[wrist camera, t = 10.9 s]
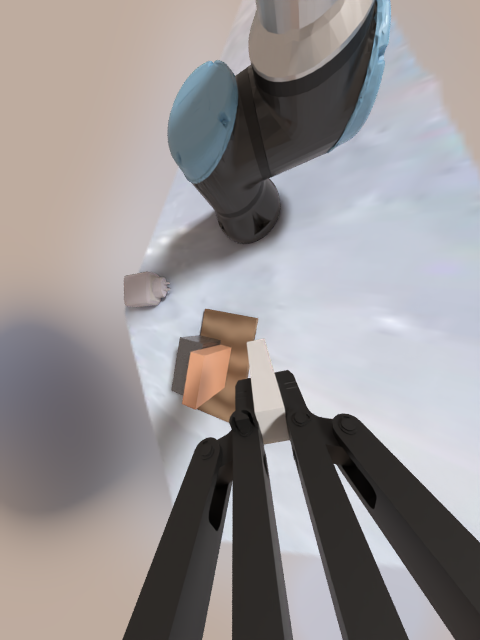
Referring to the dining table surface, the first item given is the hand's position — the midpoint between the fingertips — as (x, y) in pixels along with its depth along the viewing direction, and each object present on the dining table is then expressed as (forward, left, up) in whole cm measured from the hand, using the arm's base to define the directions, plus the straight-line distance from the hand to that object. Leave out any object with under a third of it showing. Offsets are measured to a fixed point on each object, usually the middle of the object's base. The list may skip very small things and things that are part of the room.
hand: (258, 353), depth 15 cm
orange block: (+11, -17, -25) cm, 32 cm away
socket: (+11, -19, -25) cm, 33 cm away
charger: (-5, -41, -27) cm, 50 cm away
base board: (+11, -15, -27) cm, 32 cm away
